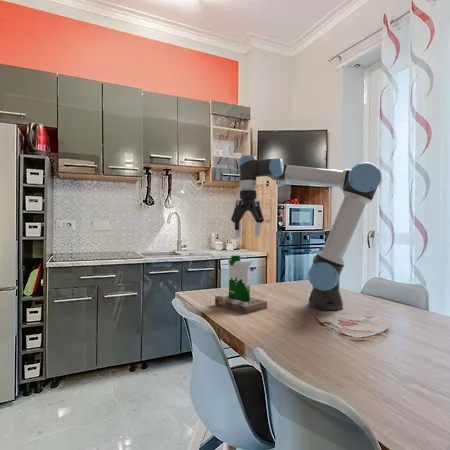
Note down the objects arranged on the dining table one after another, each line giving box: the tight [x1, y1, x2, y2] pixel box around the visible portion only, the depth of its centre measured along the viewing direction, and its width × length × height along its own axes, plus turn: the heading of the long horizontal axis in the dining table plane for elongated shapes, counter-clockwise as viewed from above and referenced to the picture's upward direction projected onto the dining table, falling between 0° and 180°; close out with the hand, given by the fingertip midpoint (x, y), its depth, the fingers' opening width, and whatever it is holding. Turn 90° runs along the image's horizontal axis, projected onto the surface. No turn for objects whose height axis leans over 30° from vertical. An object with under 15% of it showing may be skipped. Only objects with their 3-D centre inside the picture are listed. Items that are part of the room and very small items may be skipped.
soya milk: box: [227, 255, 252, 302], centre depth 146 cm, size 9×9×20 cm
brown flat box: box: [214, 294, 268, 315], centre depth 147 cm, size 19×15×4 cm
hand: (248, 237), depth 149 cm, fingers open, 13 cm apart
